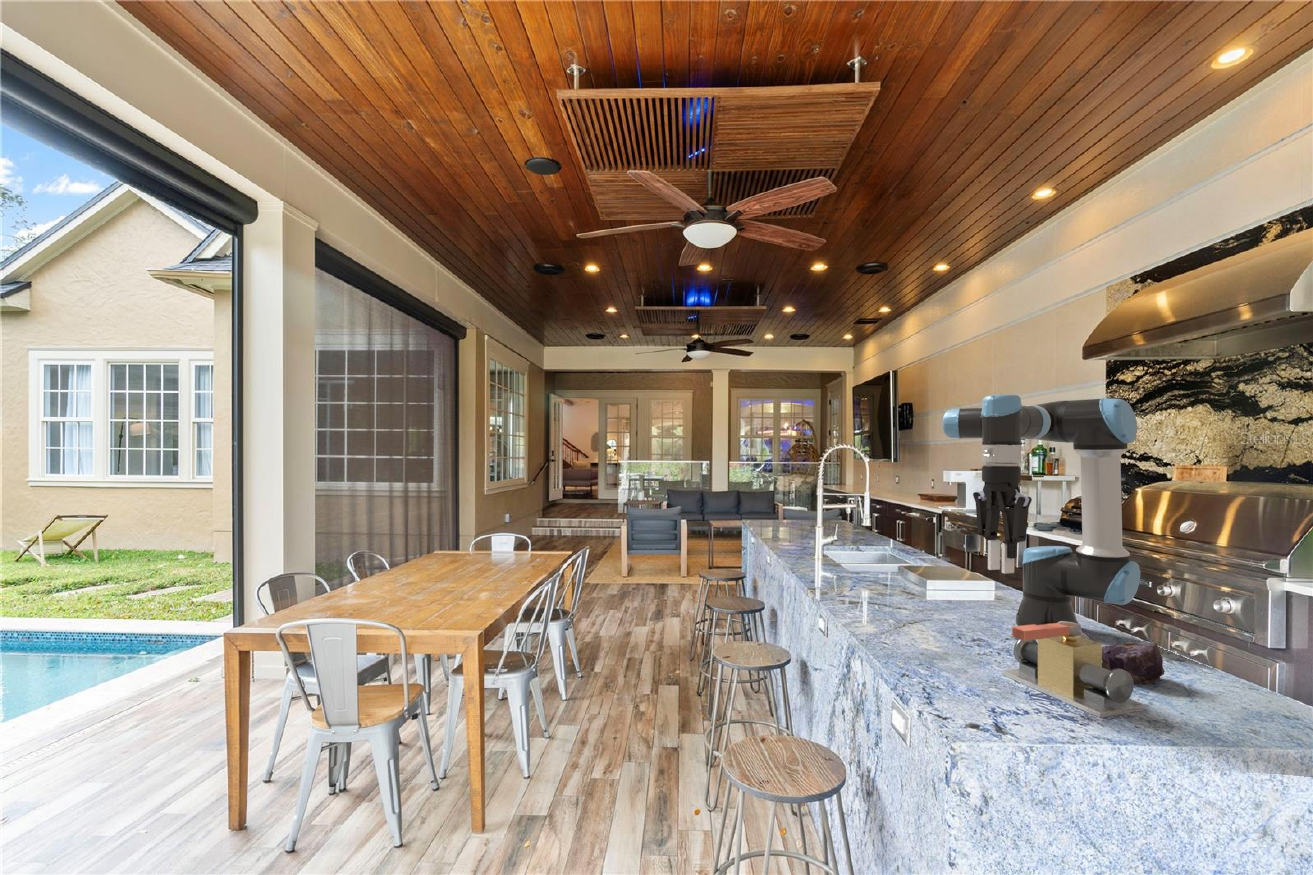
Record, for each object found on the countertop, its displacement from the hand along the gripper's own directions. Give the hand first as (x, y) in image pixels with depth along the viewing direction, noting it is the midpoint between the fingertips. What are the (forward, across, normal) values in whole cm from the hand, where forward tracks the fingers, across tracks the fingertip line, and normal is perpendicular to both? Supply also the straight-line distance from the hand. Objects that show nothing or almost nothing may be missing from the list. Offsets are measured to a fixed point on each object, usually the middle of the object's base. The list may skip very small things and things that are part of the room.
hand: (1000, 570), depth 133 cm
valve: (+25, +8, +10) cm, 28 cm away
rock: (+25, +8, +30) cm, 40 cm away
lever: (+12, +8, +4) cm, 15 cm away
